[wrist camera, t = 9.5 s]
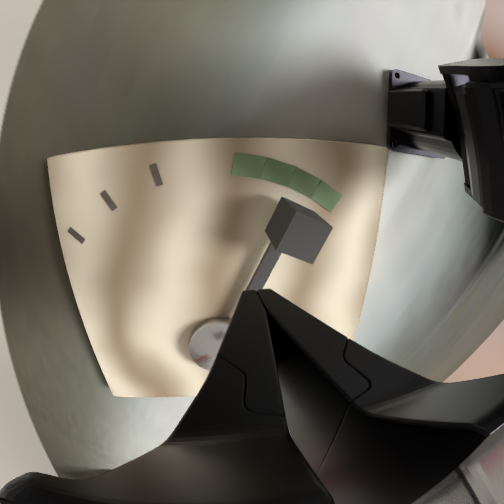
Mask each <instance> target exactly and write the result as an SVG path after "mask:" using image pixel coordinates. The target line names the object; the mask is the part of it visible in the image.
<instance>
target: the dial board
mask: <svg viewBox="0 0 504 504" xmlns="http://www.w3.org/2000/svg"><path fill="white" fill-rule="evenodd" d="M387 154H388V148H387V147H383V146H379V145H371V144H362V143H352V142H342V141H329V140H314V139H295V138H203V139H184V140H169V141H156V142H145V143H136V144H127V145H118V146H111V147H103V148H96V149H90V150H84V151H78V152H72V153H66V154H61V155H56V156H53V157H50V158H47V163H48V172H49V180H50V188H51V195H52V201H53V207H54V213H55V219H56V224H57V229H58V234H59V238H60V243H61V247H62V252H63V256H64V260H65V264H66V268H67V271H68V275H69V279H70V282H71V286H72V289H73V293H74V296H75V299H76V302H77V305H78V308H79V311H80V314H81V317H82V320H83V323H84V326H85V329H86V332H87V334H88V337H89V340H90V342H91V345H92V347H93V350H94V352H95V355H96V357H97V360H98V362H99V364H100V367H101V369H102V371H103V374H104V376H105V378H106V380H107V383H108V385H109V387H110V389H111V391H112V393H113V395H114V396H119V397H182V396H196V395H197V394H198V392H199V390H200V389H201V387H202V385H203V383H204V382H205V380H206V378H207V376H208V374H209V371H208V370H205V369H203V368H201V367H200V366H198V365H197V364H196V363H195V362H194V361H193V360H192V358H191V356H190V336H191V333H192V331H193V330H194V329H195V328H196V327H197V326H198V325H199V324H200V323H202V322H204V321H206V320H208V319H212V318H216V317H229V318H231V317H232V315H233V312H234V310H235V307H236V305H237V302H238V300H239V297H240V294H241V292H242V291H244V290H246V288H247V286H248V284H249V282H250V280H251V278H252V276H253V274H254V272H255V271H256V269H257V267H258V265H259V263H260V261H261V259H262V257H263V255H264V253H265V251H266V249H267V247H268V245H269V243H270V239H269V238H268V236H267V234H266V232H265V229H266V227H267V225H268V223H269V221H270V219H271V217H272V215H273V213H274V211H275V209H276V207H277V205H278V203H279V201H280V199H281V197H284V198H287V199H289V200H291V201H293V202H295V203H298V204H300V205H302V206H304V207H306V208H308V209H311V210H313V211H315V212H316V213H317V214H318V215H319V216H320V217H322V218H323V219H324V220H325V221H326V222H327V223H329V224H330V225H331V226H332V227H333V229H332V231H331V232H330V234H329V236H328V238H327V240H326V242H325V243H324V245H323V247H322V249H321V251H320V252H319V254H318V256H317V258H316V259H315V261H314V263H313V265H312V264H310V263H307V262H304V261H302V260H299V259H297V258H294V257H291V256H289V255H286V254H283V253H281V255H280V257H279V259H278V261H277V263H276V265H275V267H274V268H273V270H272V272H271V274H270V276H269V278H268V280H267V282H266V283H265V285H264V287H263V289H268V288H269V289H272V290H273V291H275V292H276V293H278V294H280V295H281V296H283V297H284V298H286V299H287V300H289V301H290V302H292V303H294V304H295V305H297V306H298V307H300V308H302V309H303V310H305V311H306V312H308V313H309V314H311V315H313V316H314V317H316V318H317V319H319V320H321V321H322V322H324V323H325V324H327V325H329V326H330V327H332V328H333V329H335V330H337V331H338V332H340V333H341V334H343V335H345V336H346V337H348V339H351V340H353V341H354V338H355V334H356V330H357V327H358V323H359V319H360V315H361V311H362V307H363V303H364V298H365V294H366V290H367V285H368V281H369V276H370V271H371V266H372V261H373V256H374V250H375V245H376V239H377V233H378V227H379V221H380V214H381V207H382V200H383V192H384V184H385V175H386V165H387Z"/></svg>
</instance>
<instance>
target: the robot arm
mask: <svg viewBox="0 0 504 504" xmlns="http://www.w3.org/2000/svg"><path fill="white" fill-rule="evenodd" d="M438 67H439V70H440V73H441V74H442V75H443V78H444V80H443V81H431V80H428V79H426V78H423V77H420V76H417V75H414V74H410V73H407V72H404V71H401V70H397V69H395V70H391V71H390V73H389V93H388V120H387V123H388V132H387V147H388V149H389V150H392V151H397V152H405V153H411V154H418V155H424V156H430V157H436V158H441V159H444V158H445V157H449V158H453V159H456V160H459V161H463V168H464V175H465V183H464V186H465V192H466V193H468V194H469V195H470V196H471V197H472V198H473V199H474V200H475V201H476V202H477V203H478V204H479V205H480V206H481V207H482V211H483V213H484V214H486V215H487V216H489V217H491V218H493V219H495V220H496V221H498V222H500V223H501V224H504V58H487V59H473V60H467V61H461V62H455V63H449V64H444V65H439V66H438ZM395 73H396V75H397V78H396V77H395ZM393 142H394V147H393V146H392V143H393ZM288 428H289V429H288ZM289 431H290V432H289ZM290 434H291V435H290ZM0 504H504V374H500V375H495V376H491V377H485V378H480V379H474V380H468V381H461V382H454V383H442V382H436V381H432V380H430V379H427V378H425V377H423V376H421V375H418V374H416V373H414V372H412V371H410V370H408V369H406V368H403V367H401V366H399V365H397V364H395V363H393V362H391V361H389V360H387V359H385V358H383V357H381V356H379V355H377V354H375V353H373V352H371V351H370V350H368V349H366V348H365V347H363V346H361V345H359V344H358V343H356V342H355V341H353V340H351V339H348V337H346V336H345V335H343V334H341V333H340V332H338V331H337V330H335V329H333V328H332V327H330V326H329V325H327V324H325V323H324V322H322V321H321V320H319V319H317V318H316V317H314V316H313V315H311V314H309V313H308V312H306V311H305V310H303V309H302V308H300V307H298V306H297V305H295V304H294V303H292V302H290V301H289V300H287V299H286V298H284V297H283V296H281V295H280V294H278V293H276V292H275V291H273V290H272V289H269V288H268V289H258V290H257V291H256V290H244V291H242V292H241V294H240V297H239V300H238V302H237V305H236V307H235V310H234V312H233V315H232V317H231V320H230V322H229V325H228V327H227V330H226V332H225V335H224V337H223V340H222V342H221V345H220V347H219V350H218V353H217V355H216V357H215V360H214V362H213V365H212V367H211V369H210V371H209V374H208V376H207V378H206V380H205V382H204V383H203V385H202V387H201V389H200V390H199V392H198V394H197V395H196V397H195V399H194V400H193V402H192V403H191V405H190V406H189V408H188V410H187V411H186V413H185V414H184V416H183V417H182V419H181V420H180V422H179V424H178V425H177V427H176V428H175V430H174V431H173V432H172V434H171V435H170V436H169V437H168V439H167V440H166V441H165V442H164V443H162V444H161V445H160V446H159V447H157V448H155V449H153V450H151V451H149V452H147V453H146V454H144V455H142V456H140V457H138V458H136V459H134V460H132V461H130V462H128V463H126V464H124V465H122V466H119V467H117V468H115V469H113V470H111V471H109V472H107V473H104V474H101V475H99V476H96V477H91V478H86V479H67V478H61V477H56V476H52V475H48V474H43V473H38V472H29V473H25V474H24V475H21V476H19V477H17V478H15V479H13V480H12V481H10V482H8V483H7V484H6V485H5V486H4V487H3V488H2V489H1V491H0Z"/></svg>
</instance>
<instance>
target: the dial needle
mask: <svg viewBox="0 0 504 504" xmlns="http://www.w3.org/2000/svg"><path fill="white" fill-rule="evenodd" d="M332 229H333V227H332V226H331V225H330V224H329V223H327V222H326V221H325V220H324V219H323V218H322V217H320V216H319V215H318V214H317V213H316V212H315V211H313V210H311V209H308V208H306V207H304V206H302V205H300V204H298V203H295V202H293V201H291V200H289V199H287V198H284V197H281V199H280V201H279V203H278V205H277V207H276V209H275V211H274V213H273V215H272V217H271V219H270V221H269V223H268V225H267V227H266V229H265V232H266V234H267V236H268V238H269V239H270V243H269V245H268V247H267V249H266V251H265V253H264V255H263V257H262V259H261V261H260V263H259V265H258V267H257V269H256V271H255V272H254V274H253V276H252V278H251V280H250V282H249V284H248V286H247V288H246V290H256V291H257V290H258V289H263V287H264V285H265V283H266V282H267V280H268V278H269V276H270V274H271V272H272V270H273V268H274V267H275V265H276V263H277V261H278V259H279V257H280V255H281V253H283V254H286V255H289V256H291V257H294V258H297V259H299V260H302V261H304V262H307V263H310V264H312V265H313V263H314V261H315V259H316V258H317V256H318V254H319V252H320V251H321V249H322V247H323V245H324V243H325V242H326V240H327V238H328V236H329V234H330V232H331V231H332ZM230 320H231V318H229V317H216V318H212V319H208V320H206V321H204V322H202V323H200V324H199V325H198V326H197V327H196V328H195V329H194V330H193V331H192V333H191V336H190V356H191V358H192V360H193V361H194V362H195V363H196V364H197V365H198V366H200V367H201V368H203V369H205V370H208V371H210V369H211V367H212V365H213V362H214V360H215V357H216V355H217V353H218V350H219V347H220V345H221V342H222V340H223V337H224V335H225V332H226V330H227V327H228V325H229V322H230Z"/></svg>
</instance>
